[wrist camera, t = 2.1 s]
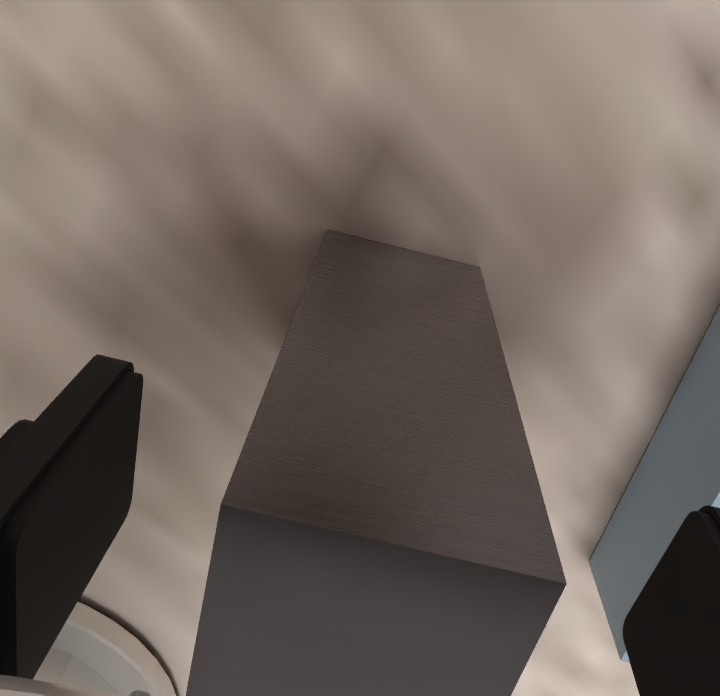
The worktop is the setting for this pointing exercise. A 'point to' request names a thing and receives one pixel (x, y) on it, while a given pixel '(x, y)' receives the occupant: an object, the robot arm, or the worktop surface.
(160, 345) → the worktop surface
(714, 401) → the bore block
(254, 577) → the square peg
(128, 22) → the worktop surface
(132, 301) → the worktop surface
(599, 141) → the worktop surface
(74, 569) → the robot arm
